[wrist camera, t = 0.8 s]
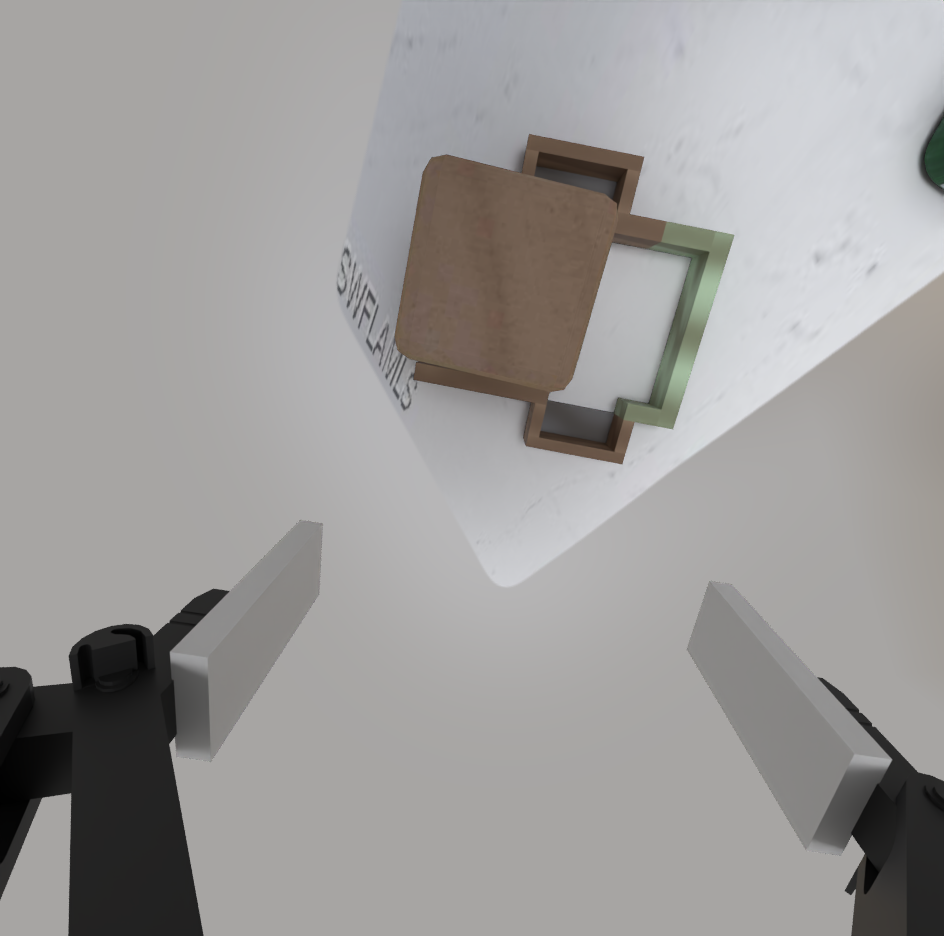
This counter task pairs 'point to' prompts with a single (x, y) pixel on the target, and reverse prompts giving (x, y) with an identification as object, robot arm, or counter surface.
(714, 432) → the counter surface
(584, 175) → the trap lane
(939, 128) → the coffee jar
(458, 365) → the block
